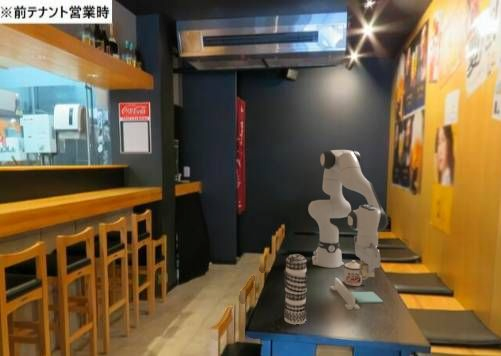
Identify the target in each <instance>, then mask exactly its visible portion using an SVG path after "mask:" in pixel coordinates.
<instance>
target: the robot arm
mask: <svg viewBox="0 0 501 356" xmlns="http://www.w3.org/2000/svg"><path fill="white" fill-rule="evenodd" d="M319 161H320V166H321V167H322V168H323V169H324V170H323V178H322V191H323V192H324V193H325V194H326V195H328V196H329V197H330V199H316V200H312V201H311V202H310V203H309V204H308V206H307V207H308V209H307V210H308V214H309V215H310V216H311V218H312V219H314V221H316V223H317V224H318V228H319V240H318V246H317V248H316V250H315V251H313V255H312V258H311V260H312V265H314V266H319V267H323V268H332V269H334V268H340V267H341V266H344V265H345V262H343V257H342V250H341V249H340V241H339V238H340V237H339V236H340V235H339V228H338V226H337V225H335V224H333V223H331V219H342V218H346V222H347V226H348V227H349V228H350V229H351V230H353V231H357V235H356V236H354V238H353V241H354V252H355V256H356V257H357V258H358V259H360V263H367V264H368V269H367V273H368V274H372V270H373V268H375V269H377V268H380V267H381V254H380V249H378V247H379V233H378V232H382V231H384V230H385V229H386V228H387V226H388V224H389V219H388V215H387V213H386V212H385V211H384V208H383V206H382V205H381V202H380V200H379V198H378V195H377V192H376V190H375V189H374V186H373V183H372V182H371V181H369V180H368V179H367V178H366V176H364V174H363V172H362V168H361V163H362V157H361V154H360V152H359V151H357V150H350V149H333V150H332V149H331V150H330V149H328V150H323V152H322V153H321V154H320V160H319ZM343 187H344V188H346V189H348V190H351V191H354V192H356V193H359V194H360V195H362V196H363V197H365V200H366V201H367V204H361V205H359V207H358V208H357V209H353V210H352V206H351V204H350V202H349V201H348V200H346V198H345V197H344V195H343Z"/></svg>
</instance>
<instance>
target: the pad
mask: <svg viewBox="0 0 501 356" xmlns="http://www.w3.org/2000/svg"><path fill="white" fill-rule="evenodd" d="M350 292H351V293H352V295H353V296H354V297H355V302H357V304H374V303H375V304H377V303H378V304H383V303H384V301H383V299H381V298H380V297H379V296H378V295H377V294H376V293H375V292H374V291H350Z"/></svg>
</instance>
